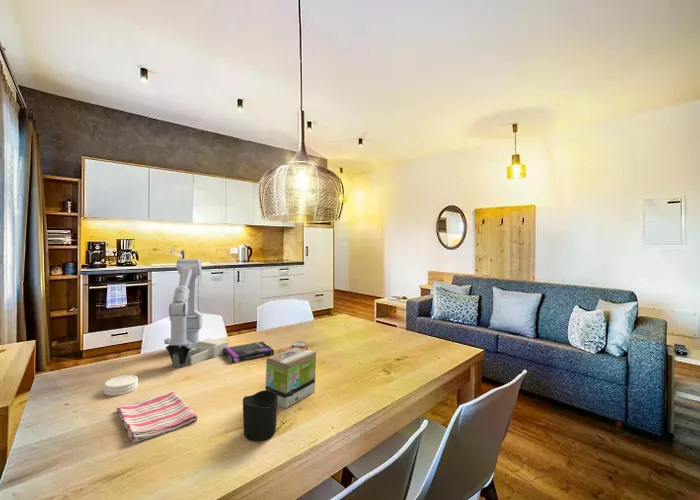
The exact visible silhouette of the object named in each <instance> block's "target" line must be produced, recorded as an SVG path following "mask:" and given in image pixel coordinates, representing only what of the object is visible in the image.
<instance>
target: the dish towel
mask: <svg viewBox="0 0 700 500" xmlns="http://www.w3.org/2000/svg"><path fill="white" fill-rule="evenodd" d="M116 411H117V413H119V414H118V415H119V417H120V419H121V421H122V423H123V425H124V428H125V429H126V431H127V432H126V434H127V437H128V439H129V440H130V443H131V444H135V443H137V442H140V441H144V440H147V439H150V438H155V437H158V436H160V435H163V434H165V433H168V432H170V431H174V430H177V429H180V427H183V426H185V425H188V424H190V423H193V422H197V421H198V415H197V414H196V413H195V411H194V410H192V409H191V408H190V406H189V405H188V404H187V403H186V402H185V401H184V400H183V399H182V398H181V396H180V395H178V394H177V391H176V390H171V391H169V392H167V393H164V394H163V393H162V394H160V395H156V396H152V397H149V398H146V399H143V400H140V401H137V402H134V403H130V404H124V405H121V406H117V407H116Z"/></svg>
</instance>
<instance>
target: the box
mask: <svg viewBox="0 0 700 500" xmlns="http://www.w3.org/2000/svg"><path fill="white" fill-rule="evenodd" d="M222 355H223V356H224V357H225V358H226V359H227V360H228V361H229V362H230V363H231V364H235V363H236V364H237V363H240V362H245V361H246V360H247V361H251V360H255V359H261V358H265V357H266V358H267V357H271V356H274V355H275V350H274V349H273V348H272V347H271V346H269V345H267V344H266V343H265V342H264V341H257V342H252V343H247V344H241V345H240V344H239V345H235V346H228V348H223V354H222ZM247 361H246V362H247Z"/></svg>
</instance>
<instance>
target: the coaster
mask: <svg viewBox="0 0 700 500" xmlns="http://www.w3.org/2000/svg"><path fill="white" fill-rule="evenodd" d="M103 383H104V384H103V393H104V395H106V396H110V397H111V396H112V397H114V396H122V395H126V394H128V393H131V392H133V391H135V390H136V389H137V388H138V386H139V376H136V375H134V374H123V375H119V376H115V377H111V378H109V379H108V380H106V381H105V382H103Z"/></svg>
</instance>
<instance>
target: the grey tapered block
mask: <svg viewBox="0 0 700 500" xmlns="http://www.w3.org/2000/svg"><path fill="white" fill-rule="evenodd" d="M193 355H195V350H191V349H190V351H189V352H188V355H187V358H186V361H185V363H184V364H180V362H179V354H178V353H174V354H173V355H172V361H171V362H172V363H171V365H172V368H178V369H180V368H183V367H186V366H188V365H190V356H193Z"/></svg>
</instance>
